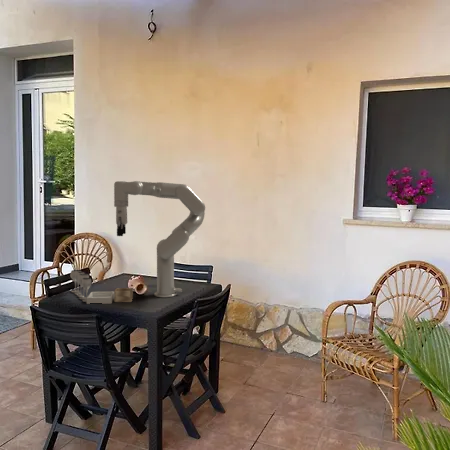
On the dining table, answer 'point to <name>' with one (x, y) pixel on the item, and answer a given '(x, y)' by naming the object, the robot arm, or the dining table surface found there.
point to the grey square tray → (100, 297)
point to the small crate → (123, 295)
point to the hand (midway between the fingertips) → (121, 234)
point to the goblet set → (81, 282)
